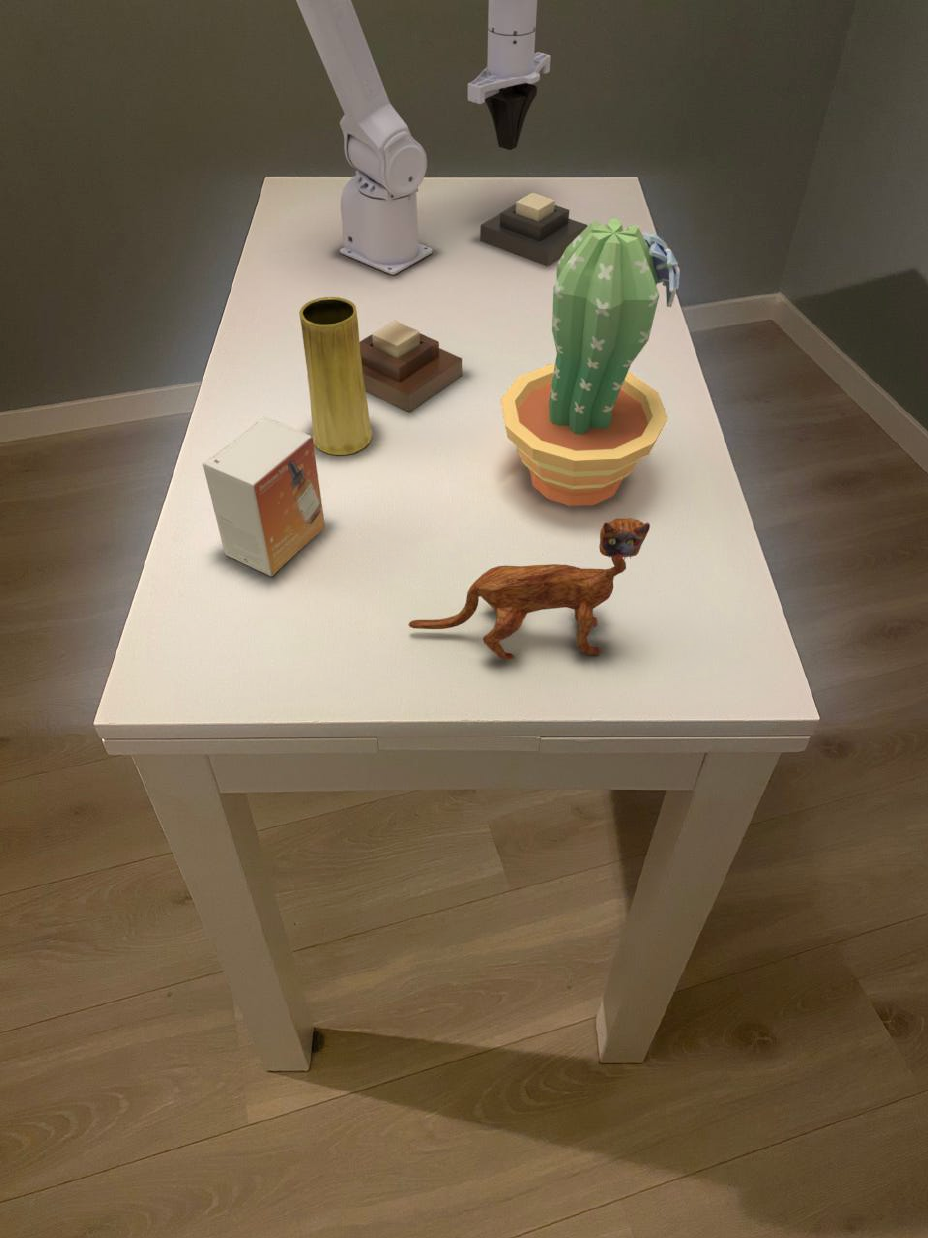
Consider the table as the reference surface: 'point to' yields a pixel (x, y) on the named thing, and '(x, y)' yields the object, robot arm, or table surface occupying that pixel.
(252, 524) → the small box
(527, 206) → the back key
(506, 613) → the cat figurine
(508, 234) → the block
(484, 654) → the table surface
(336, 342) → the vase
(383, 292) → the table surface
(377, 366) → the front block
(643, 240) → the potted cactus
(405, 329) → the front key
